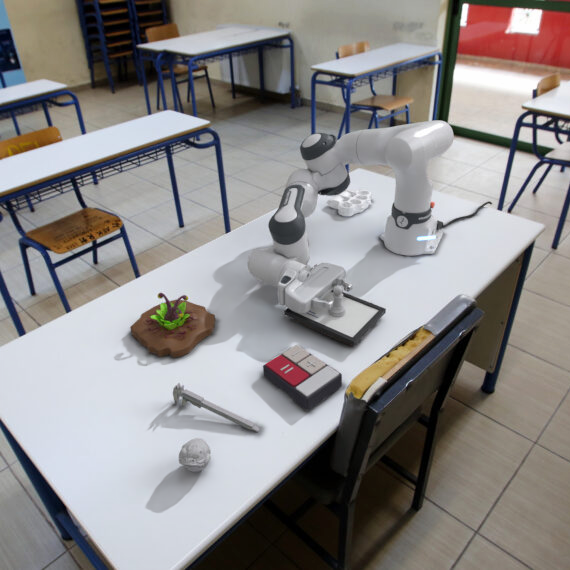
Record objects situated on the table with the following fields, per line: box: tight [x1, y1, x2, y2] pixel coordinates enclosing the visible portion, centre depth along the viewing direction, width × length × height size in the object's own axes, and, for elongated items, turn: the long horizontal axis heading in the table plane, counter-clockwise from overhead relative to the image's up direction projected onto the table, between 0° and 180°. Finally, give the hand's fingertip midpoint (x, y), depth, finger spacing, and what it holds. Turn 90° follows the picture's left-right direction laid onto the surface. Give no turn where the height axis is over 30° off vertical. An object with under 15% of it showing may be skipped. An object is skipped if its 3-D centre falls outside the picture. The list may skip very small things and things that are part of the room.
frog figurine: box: [178, 437, 212, 473], centre depth 95 cm, size 6×7×7 cm
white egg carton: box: [326, 189, 373, 217], centre depth 189 cm, size 3×18×15 cm
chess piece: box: [328, 285, 346, 317], centre depth 129 cm, size 5×5×8 cm
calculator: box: [262, 344, 343, 411], centre depth 114 cm, size 11×4×15 cm
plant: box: [129, 292, 216, 358], centre depth 128 cm, size 20×20×11 cm
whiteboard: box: [283, 290, 387, 347], centre depth 132 cm, size 16×21×3 cm
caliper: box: [172, 382, 261, 433], centre depth 105 cm, size 20×1×6 cm, turn 66°
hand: (341, 297), depth 128 cm, fingers open, 8 cm apart
